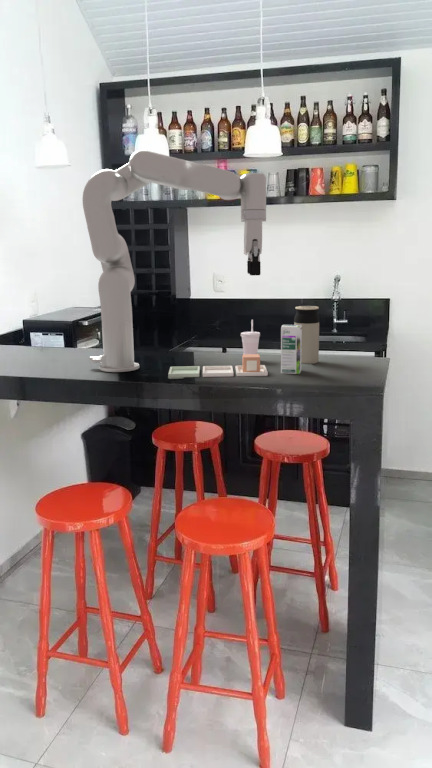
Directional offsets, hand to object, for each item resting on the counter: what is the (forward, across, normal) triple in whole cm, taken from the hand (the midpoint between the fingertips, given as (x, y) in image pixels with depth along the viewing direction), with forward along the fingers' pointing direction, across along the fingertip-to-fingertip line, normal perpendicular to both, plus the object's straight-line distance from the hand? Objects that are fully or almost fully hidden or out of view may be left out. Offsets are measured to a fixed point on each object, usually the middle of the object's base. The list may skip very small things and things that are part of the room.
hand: (253, 274), depth 198 cm
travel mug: (+29, -7, +18) cm, 35 cm away
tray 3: (+29, +10, -2) cm, 31 cm away
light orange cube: (+28, +10, -2) cm, 30 cm away
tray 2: (+29, +10, -12) cm, 33 cm away
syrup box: (+29, +10, +10) cm, 33 cm away
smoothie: (+29, -9, 0) cm, 31 cm away
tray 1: (+29, +10, -22) cm, 37 cm away
